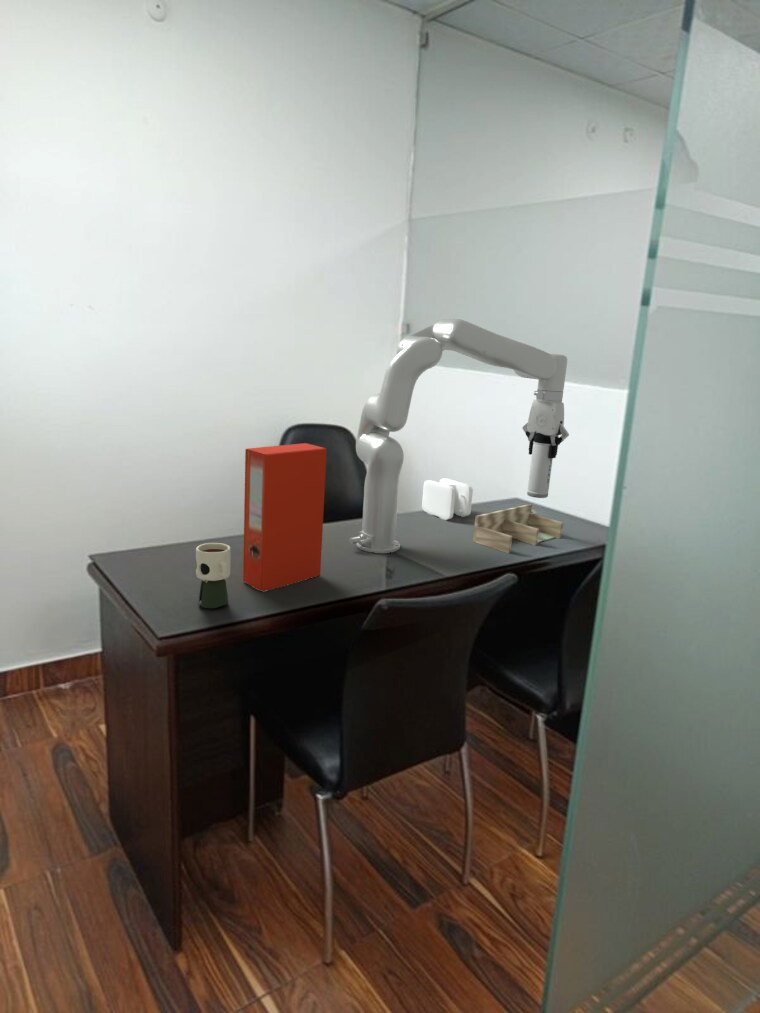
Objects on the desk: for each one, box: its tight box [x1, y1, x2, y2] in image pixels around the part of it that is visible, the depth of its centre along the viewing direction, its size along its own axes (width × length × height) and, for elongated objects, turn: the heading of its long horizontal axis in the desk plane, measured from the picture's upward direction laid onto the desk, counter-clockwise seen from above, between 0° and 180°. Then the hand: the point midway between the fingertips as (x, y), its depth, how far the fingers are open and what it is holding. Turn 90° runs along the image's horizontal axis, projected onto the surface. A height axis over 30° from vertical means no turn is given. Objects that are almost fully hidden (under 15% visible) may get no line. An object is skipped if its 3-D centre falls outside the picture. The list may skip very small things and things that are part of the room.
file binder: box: [242, 442, 327, 591], centre depth 157 cm, size 8×17×32 cm, turn 136°
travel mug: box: [526, 431, 554, 499], centre depth 204 cm, size 6×7×20 cm
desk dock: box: [472, 503, 564, 554], centre depth 204 cm, size 28×13×8 cm, turn 134°
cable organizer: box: [421, 477, 473, 521], centre depth 227 cm, size 15×11×12 cm
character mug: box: [195, 542, 232, 609], centre depth 142 cm, size 11×7×13 cm, turn 41°
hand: (542, 455), depth 203 cm, fingers closed on travel mug, 6 cm apart
